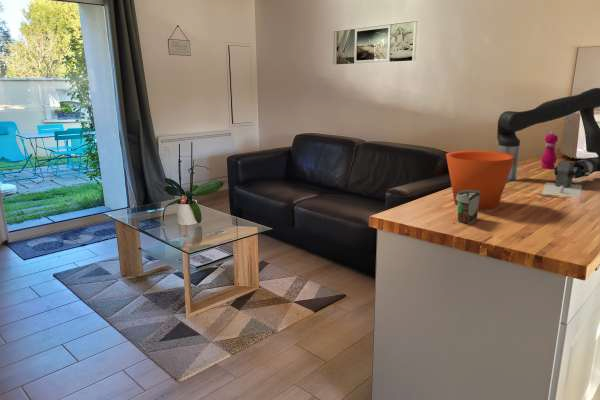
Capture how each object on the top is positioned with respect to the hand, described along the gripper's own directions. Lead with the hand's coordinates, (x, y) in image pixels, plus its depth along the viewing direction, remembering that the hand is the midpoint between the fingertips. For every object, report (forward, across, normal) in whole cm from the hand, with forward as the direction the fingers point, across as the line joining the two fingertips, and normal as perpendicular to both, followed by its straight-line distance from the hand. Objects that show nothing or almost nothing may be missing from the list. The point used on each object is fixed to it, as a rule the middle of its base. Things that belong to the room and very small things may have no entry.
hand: (562, 173), depth 192 cm
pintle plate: (+3, +2, +7) cm, 8 cm away
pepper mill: (-46, -28, +7) cm, 54 cm away
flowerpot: (+47, -10, +7) cm, 49 cm away
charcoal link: (-3, 0, +6) cm, 7 cm away
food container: (+69, -1, +7) cm, 69 cm away
